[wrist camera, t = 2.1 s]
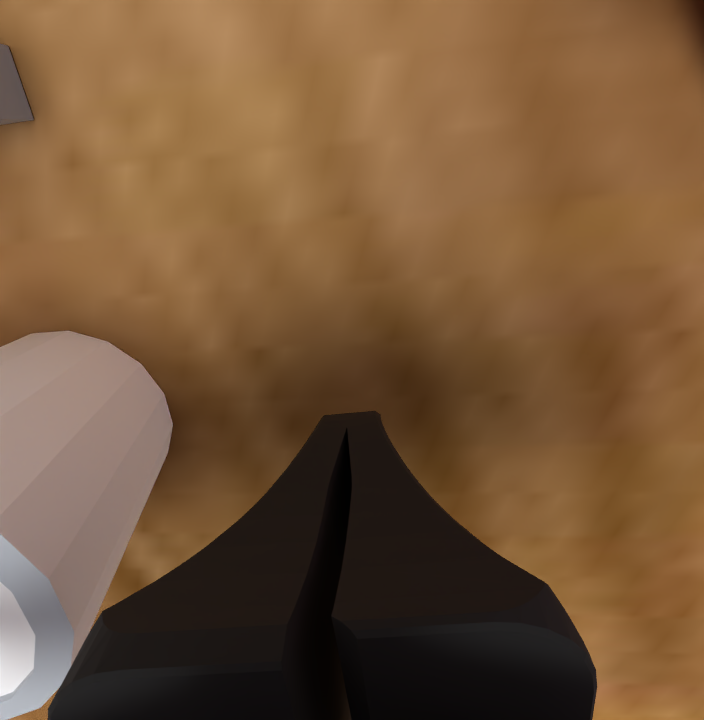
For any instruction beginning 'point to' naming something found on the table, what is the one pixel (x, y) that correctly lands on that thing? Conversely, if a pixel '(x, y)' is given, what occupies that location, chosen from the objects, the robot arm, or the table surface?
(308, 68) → the table surface
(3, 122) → the l-shaped bracket
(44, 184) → the table surface
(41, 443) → the shot glass
